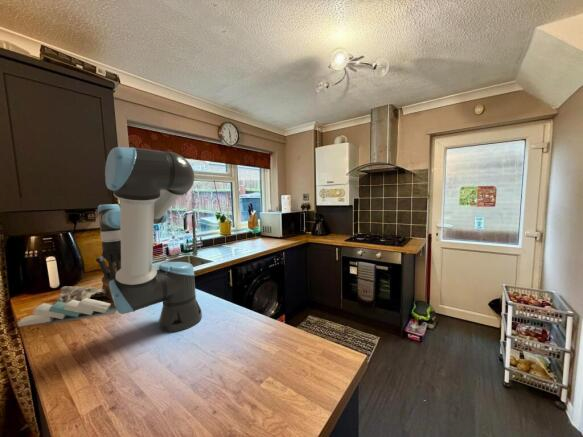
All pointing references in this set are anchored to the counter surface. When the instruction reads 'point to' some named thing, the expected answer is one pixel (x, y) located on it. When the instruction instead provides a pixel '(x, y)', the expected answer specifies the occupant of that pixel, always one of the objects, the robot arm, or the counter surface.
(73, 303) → the domino
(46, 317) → the domino
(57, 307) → the teal domino
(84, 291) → the rock
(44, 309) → the domino
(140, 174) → the robot arm
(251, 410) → the counter surface
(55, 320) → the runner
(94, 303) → the domino
